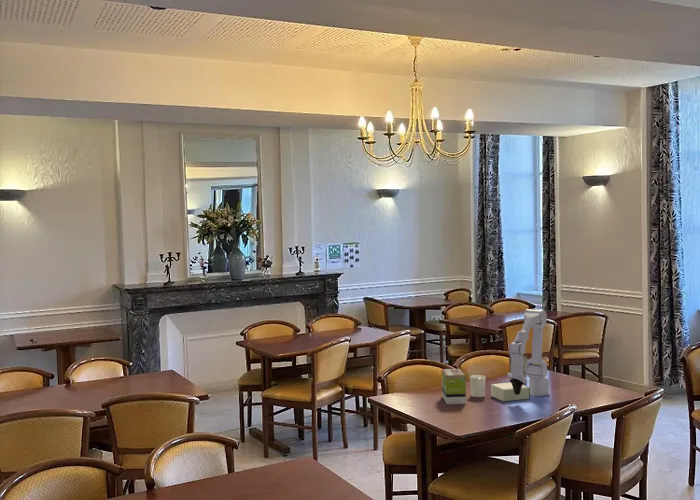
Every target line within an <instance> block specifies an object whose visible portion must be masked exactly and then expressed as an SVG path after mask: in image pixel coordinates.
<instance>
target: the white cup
mask: <svg viewBox="0 0 700 500" xmlns="http://www.w3.org/2000/svg"><path fill="white" fill-rule="evenodd" d="M486 380H487V379H486V375H483V374H472V375H470V376H469V381H470V383H469V384H470V391H471V397H474V398H484V397H485V395H486V394H485V393H486Z"/></svg>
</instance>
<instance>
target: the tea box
mask: <svg viewBox="0 0 700 500" xmlns="http://www.w3.org/2000/svg"><path fill="white" fill-rule="evenodd" d="M441 389H442V390H441V392H442V395H441V396H442V398H443V400H444V403H446V405H466V404H467V390H466V374H465V373H464V372H463V371H462V369H461V368H444V369H443V368H442V369H441Z"/></svg>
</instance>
